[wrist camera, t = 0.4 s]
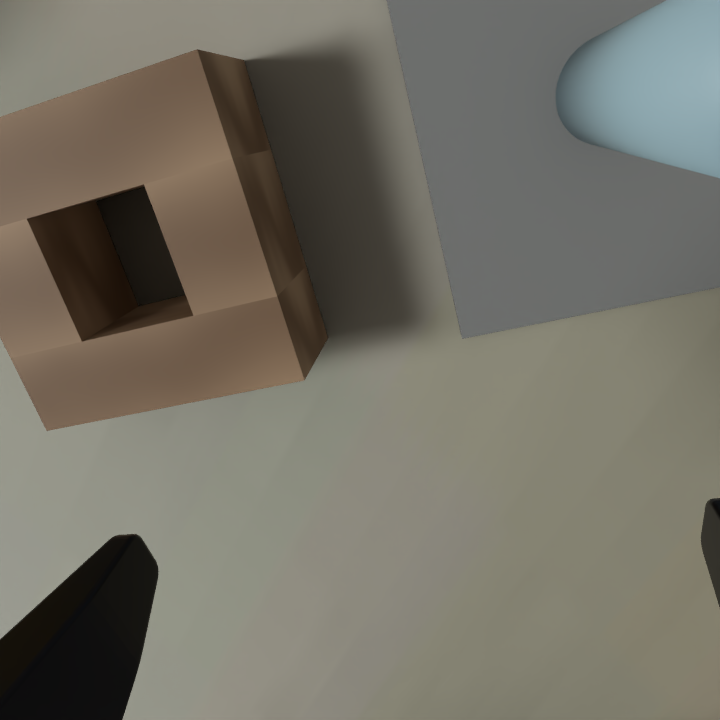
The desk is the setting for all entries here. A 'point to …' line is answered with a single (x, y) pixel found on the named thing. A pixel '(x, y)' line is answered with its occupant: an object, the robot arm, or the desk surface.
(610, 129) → the peg
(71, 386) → the hole block
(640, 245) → the mat
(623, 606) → the desk surface
